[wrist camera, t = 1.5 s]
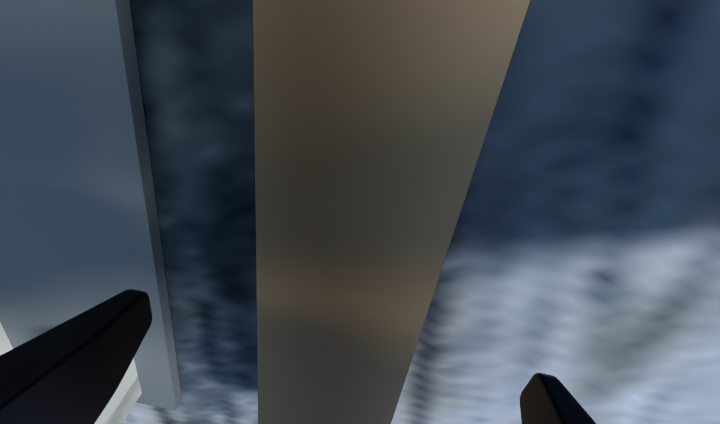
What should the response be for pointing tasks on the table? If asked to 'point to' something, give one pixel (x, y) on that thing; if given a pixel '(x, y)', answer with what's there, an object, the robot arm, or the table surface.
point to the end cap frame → (79, 184)
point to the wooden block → (362, 186)
